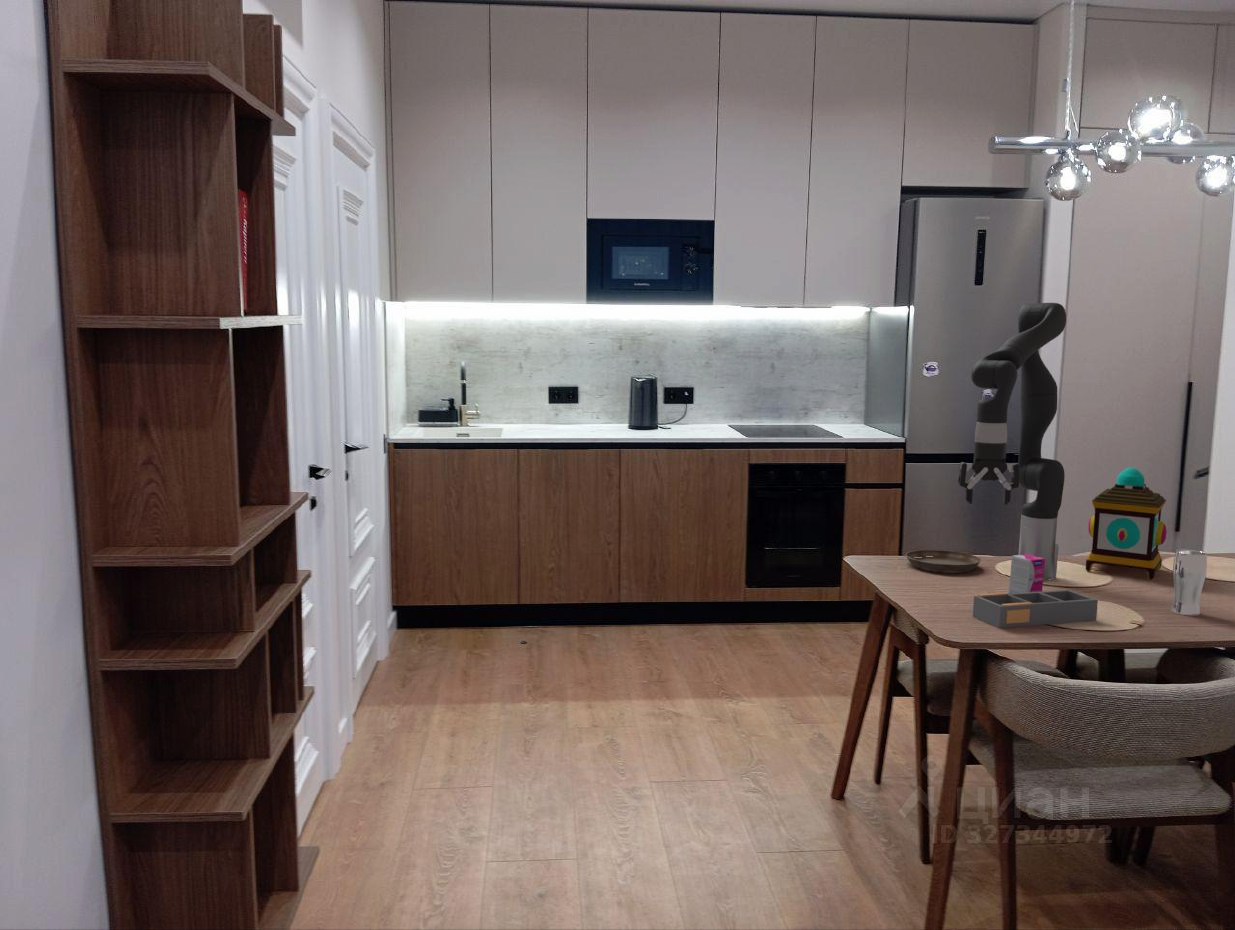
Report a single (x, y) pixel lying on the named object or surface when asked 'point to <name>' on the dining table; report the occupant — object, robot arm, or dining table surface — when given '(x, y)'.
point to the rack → (1034, 608)
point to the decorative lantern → (1127, 525)
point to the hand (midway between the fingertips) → (987, 503)
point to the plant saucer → (943, 561)
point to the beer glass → (1188, 581)
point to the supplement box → (1026, 574)
